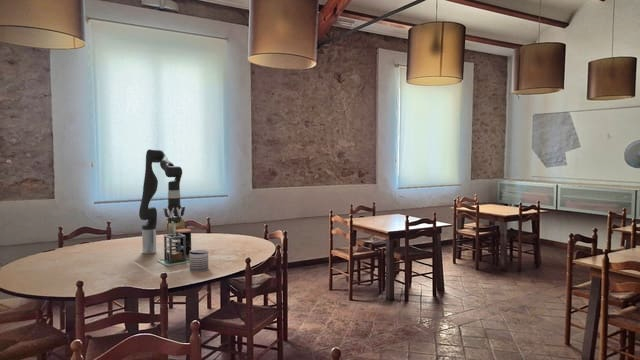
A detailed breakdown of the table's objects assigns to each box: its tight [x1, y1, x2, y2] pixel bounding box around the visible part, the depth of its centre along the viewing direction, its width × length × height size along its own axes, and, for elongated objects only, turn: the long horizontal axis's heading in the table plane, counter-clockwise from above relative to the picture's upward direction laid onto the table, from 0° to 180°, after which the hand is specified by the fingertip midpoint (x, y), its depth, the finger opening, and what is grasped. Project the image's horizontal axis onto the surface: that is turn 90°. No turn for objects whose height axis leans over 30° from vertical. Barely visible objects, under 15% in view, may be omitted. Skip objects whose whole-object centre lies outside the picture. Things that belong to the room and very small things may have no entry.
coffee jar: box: [174, 228, 192, 257], centre depth 304 cm, size 11×11×18 cm
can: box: [189, 249, 209, 273], centre depth 270 cm, size 11×11×12 cm
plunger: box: [171, 215, 180, 244], centre depth 283 cm, size 7×7×16 cm
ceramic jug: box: [167, 212, 188, 240], centre depth 355 cm, size 17×15×30 cm
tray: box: [156, 256, 190, 267], centre depth 285 cm, size 16×18×2 cm
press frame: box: [163, 233, 187, 264], centre depth 284 cm, size 11×11×17 cm
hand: (174, 222), depth 283 cm, fingers open, 5 cm apart
